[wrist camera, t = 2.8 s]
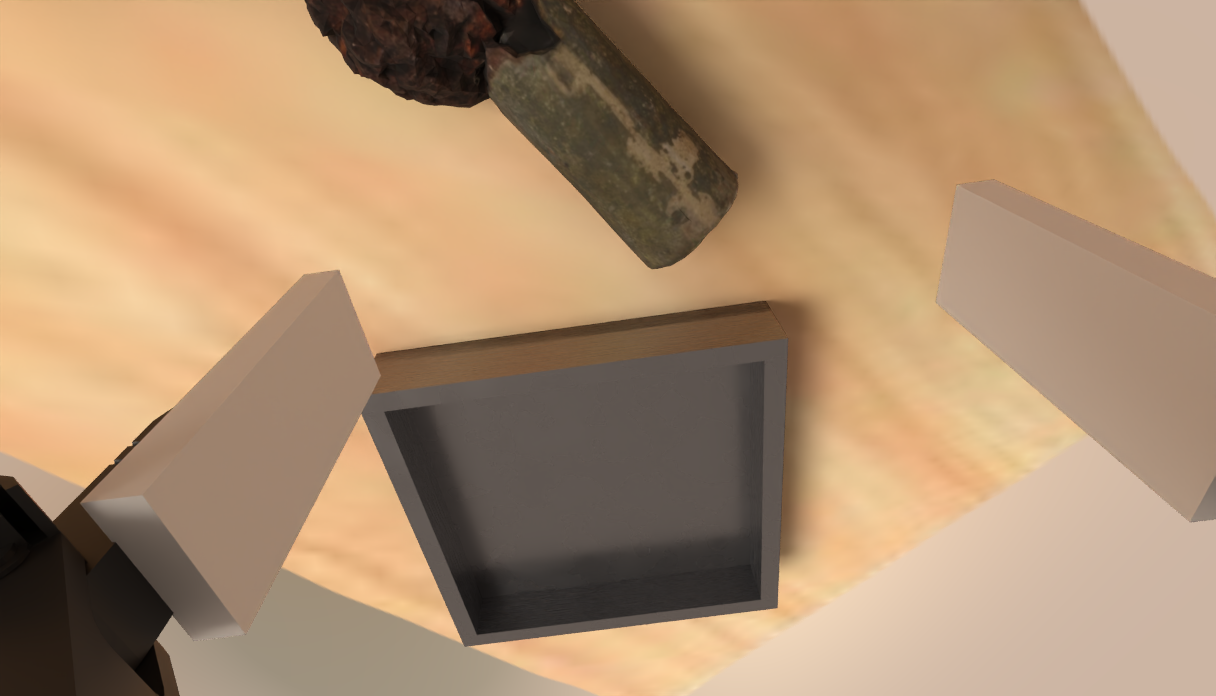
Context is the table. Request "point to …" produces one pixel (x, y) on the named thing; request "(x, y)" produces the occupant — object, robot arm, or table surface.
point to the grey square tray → (593, 470)
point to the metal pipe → (549, 104)
